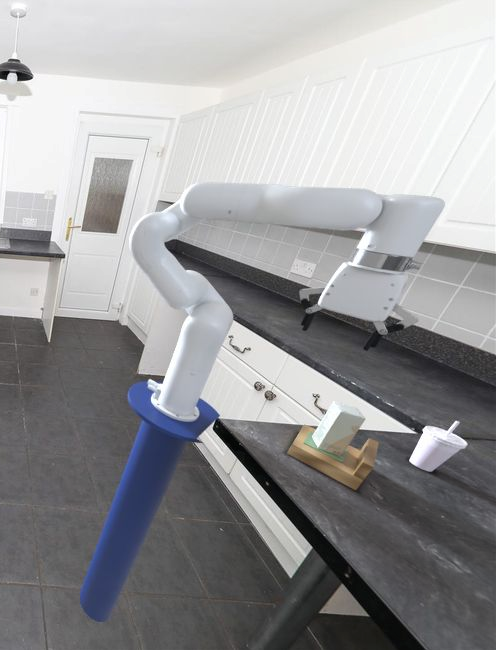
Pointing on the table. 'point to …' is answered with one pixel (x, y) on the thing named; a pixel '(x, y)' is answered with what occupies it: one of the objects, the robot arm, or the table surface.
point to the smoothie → (436, 447)
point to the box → (338, 428)
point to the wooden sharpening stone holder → (335, 458)
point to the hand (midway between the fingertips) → (333, 338)
